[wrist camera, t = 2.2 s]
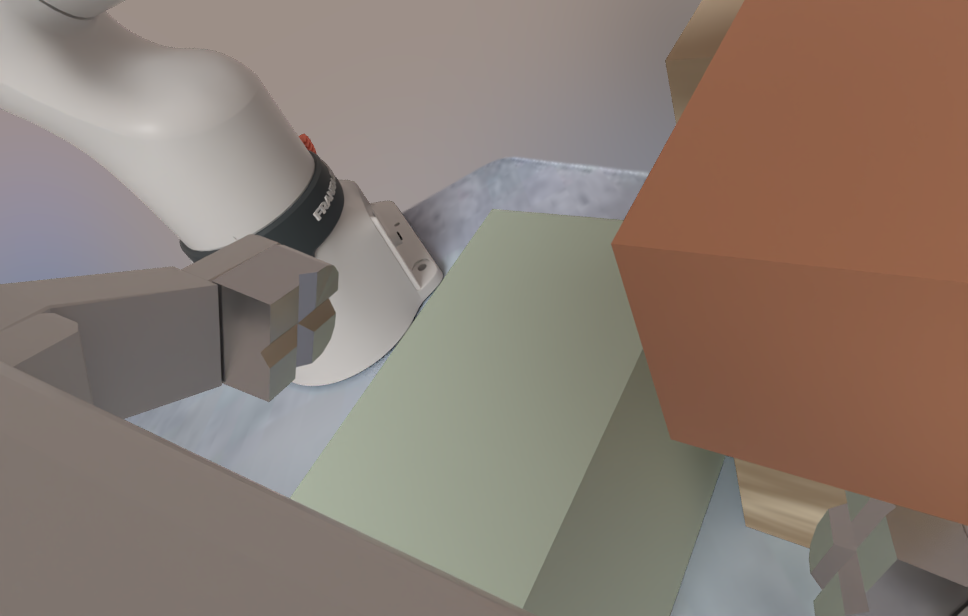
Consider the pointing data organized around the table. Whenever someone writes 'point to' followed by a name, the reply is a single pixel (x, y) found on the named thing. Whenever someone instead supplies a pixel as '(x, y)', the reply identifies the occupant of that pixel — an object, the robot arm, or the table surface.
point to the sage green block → (525, 433)
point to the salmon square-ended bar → (817, 250)
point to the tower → (764, 491)
